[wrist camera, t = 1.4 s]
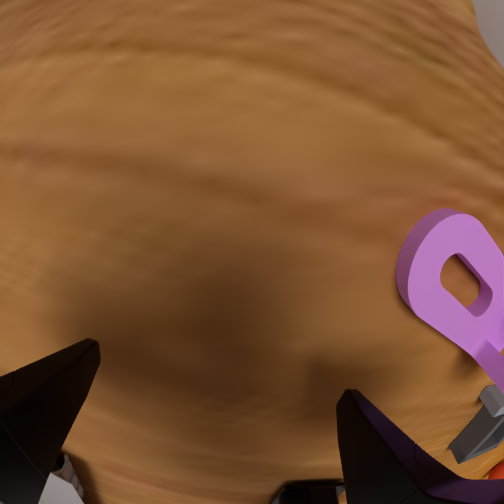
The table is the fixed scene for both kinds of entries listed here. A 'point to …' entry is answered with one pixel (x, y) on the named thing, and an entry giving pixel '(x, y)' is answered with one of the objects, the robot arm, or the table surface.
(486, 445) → the trap pit
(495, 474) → the tomato
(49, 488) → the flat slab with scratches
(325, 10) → the table surface
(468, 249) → the bracket
